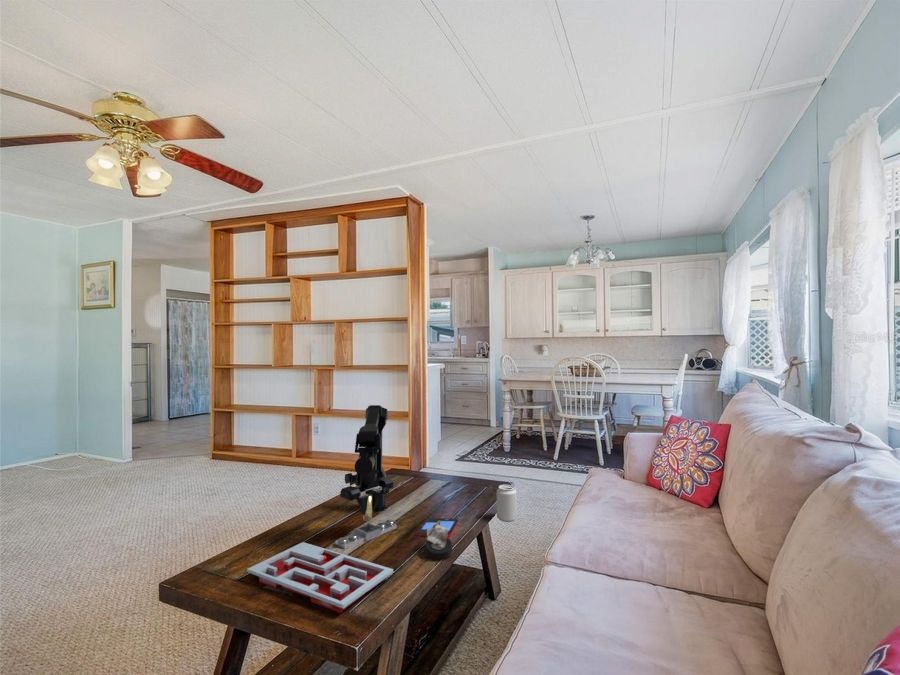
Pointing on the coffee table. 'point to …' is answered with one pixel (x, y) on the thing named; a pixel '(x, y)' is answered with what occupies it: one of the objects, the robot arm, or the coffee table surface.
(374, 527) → the studded bracket plate
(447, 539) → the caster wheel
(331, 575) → the maze game
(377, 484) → the robot arm
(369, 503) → the link pin
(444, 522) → the game console
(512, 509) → the can
